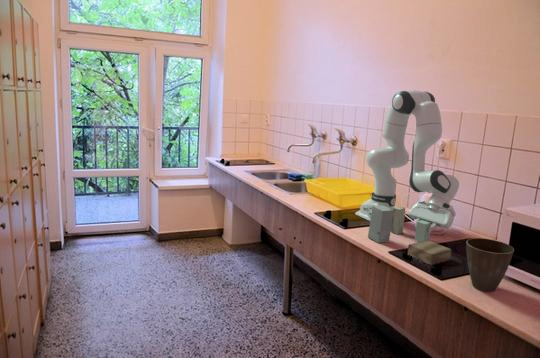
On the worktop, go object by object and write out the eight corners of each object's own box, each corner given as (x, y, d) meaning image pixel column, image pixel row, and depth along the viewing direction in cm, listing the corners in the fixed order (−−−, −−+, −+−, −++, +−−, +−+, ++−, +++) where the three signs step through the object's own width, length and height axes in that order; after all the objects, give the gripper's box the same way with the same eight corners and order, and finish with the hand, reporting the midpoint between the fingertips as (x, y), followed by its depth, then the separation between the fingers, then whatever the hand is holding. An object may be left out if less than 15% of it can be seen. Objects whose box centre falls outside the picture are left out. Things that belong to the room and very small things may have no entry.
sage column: (414, 240, 190) (416, 221, 188) (420, 238, 193) (422, 219, 191) (423, 243, 186) (425, 224, 184) (428, 241, 189) (431, 222, 187)
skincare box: (367, 237, 195) (370, 205, 192) (379, 236, 198) (382, 204, 195) (378, 243, 188) (381, 210, 184) (391, 242, 190) (394, 209, 187)
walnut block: (407, 255, 176) (408, 244, 175) (426, 250, 182) (427, 240, 181) (430, 266, 166) (432, 254, 165) (449, 260, 172) (451, 249, 171)
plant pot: (451, 280, 152) (457, 240, 149) (481, 275, 158) (487, 236, 154) (485, 300, 139) (492, 255, 135) (517, 293, 144) (524, 250, 141)
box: (395, 230, 207) (397, 205, 204) (403, 232, 204) (405, 207, 201) (389, 232, 204) (392, 207, 201) (398, 234, 200) (400, 209, 198)
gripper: (414, 197, 198) (400, 219, 194) (455, 207, 182) (440, 232, 178) (419, 204, 202) (405, 227, 198) (459, 215, 186) (444, 240, 182)
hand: (422, 229), depth 188 cm, fingers closed on sage column, 4 cm apart
